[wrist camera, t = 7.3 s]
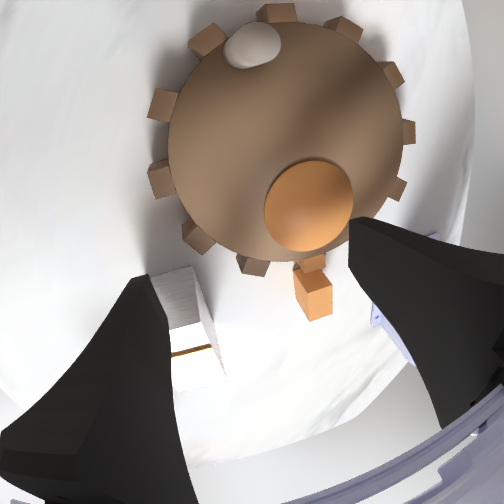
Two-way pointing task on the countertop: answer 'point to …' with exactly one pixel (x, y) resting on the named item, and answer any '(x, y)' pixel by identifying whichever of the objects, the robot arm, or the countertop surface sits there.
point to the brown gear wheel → (281, 139)
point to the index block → (313, 293)
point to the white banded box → (189, 330)
